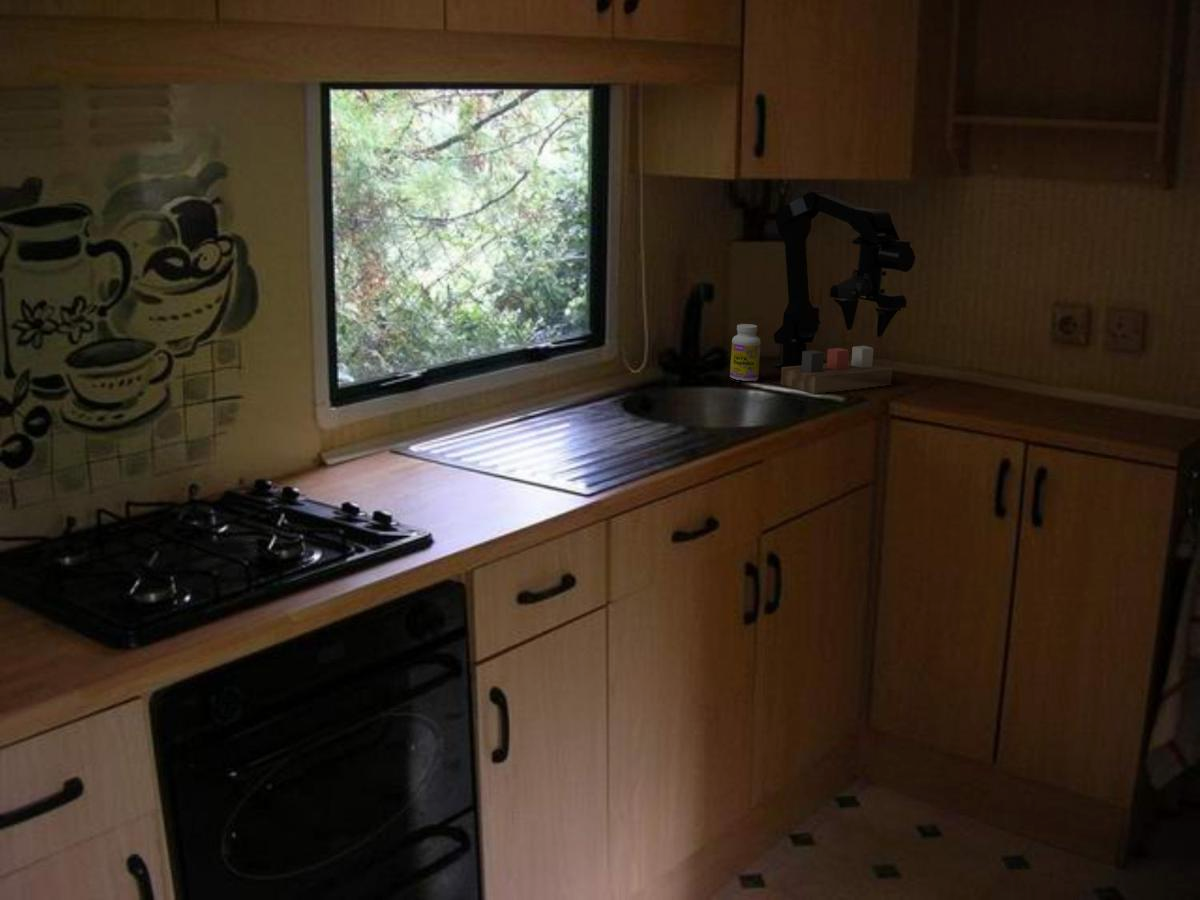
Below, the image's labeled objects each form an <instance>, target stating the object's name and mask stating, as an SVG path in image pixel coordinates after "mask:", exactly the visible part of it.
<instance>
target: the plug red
mask: <svg viewBox="0 0 1200 900" xmlns="http://www.w3.org/2000/svg"><path fill="white" fill-rule="evenodd" d="M849 355H850V350H849V349H844V348H842V347H841V348H840V347H835V348H828V349H827V355H826V356H827V357H826V363H827V368H829V369H833V370H844V369H848V361H849V357H850V356H849Z"/></svg>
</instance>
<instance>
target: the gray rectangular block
mask: <svg viewBox="0 0 1200 900" xmlns="http://www.w3.org/2000/svg"><path fill="white" fill-rule="evenodd" d="M824 354H825V353H824V352H823V351H818V350H814V349H813V350H806V351H802V368H801V370H802V371H805V372H809V373H815V372H823V363H824V356H825V355H824Z"/></svg>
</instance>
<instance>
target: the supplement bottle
mask: <svg viewBox="0 0 1200 900" xmlns="http://www.w3.org/2000/svg"><path fill="white" fill-rule="evenodd" d="M736 331H737V334H736V335H734V336H733V337H732V339H731V352H730V353H731V354H730V368H729V378H730V377H731V378H733V379H736V380H742V381H754V382H757V380H758V379H759V375H760V374H759V372H760V359H761V358H760V357H761V342H762V341H761V339H760V337H759V336H757V332H758V325H755V324H751V323H740V324H737V325H736ZM731 378H730V379H731Z"/></svg>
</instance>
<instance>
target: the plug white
mask: <svg viewBox="0 0 1200 900" xmlns="http://www.w3.org/2000/svg"><path fill="white" fill-rule="evenodd" d="M851 350H852V351H851V360H852V363H851V365H852V366H856V367H860V368H864V367H872V364H873V360H874V359H873V358H874V347H871V346H866V345H857V346H852V349H851Z"/></svg>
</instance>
